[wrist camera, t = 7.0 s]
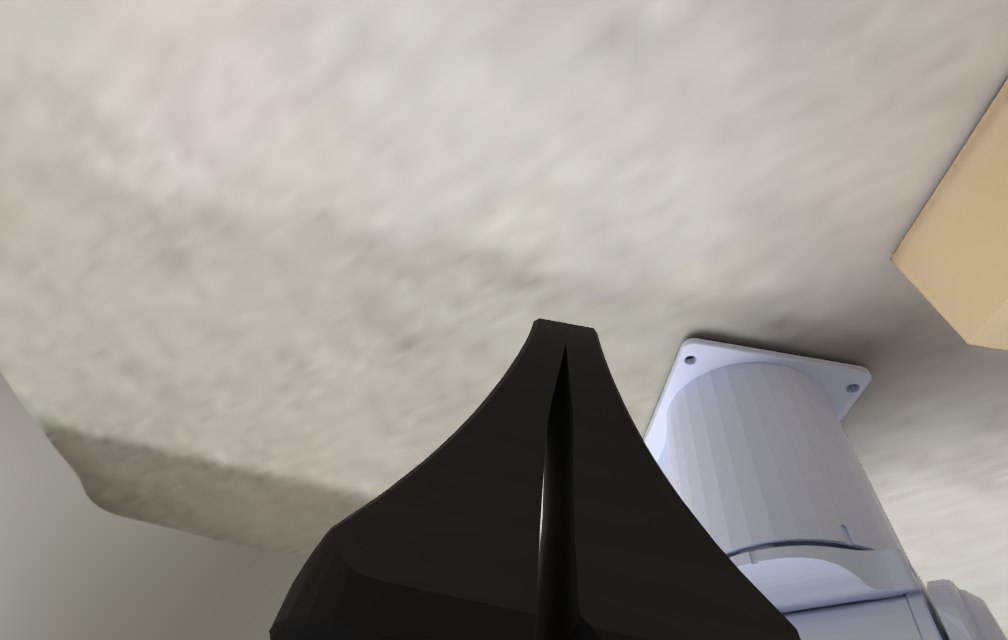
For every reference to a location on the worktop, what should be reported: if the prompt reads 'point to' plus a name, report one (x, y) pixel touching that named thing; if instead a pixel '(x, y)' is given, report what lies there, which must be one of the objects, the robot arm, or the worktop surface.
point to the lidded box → (967, 236)
